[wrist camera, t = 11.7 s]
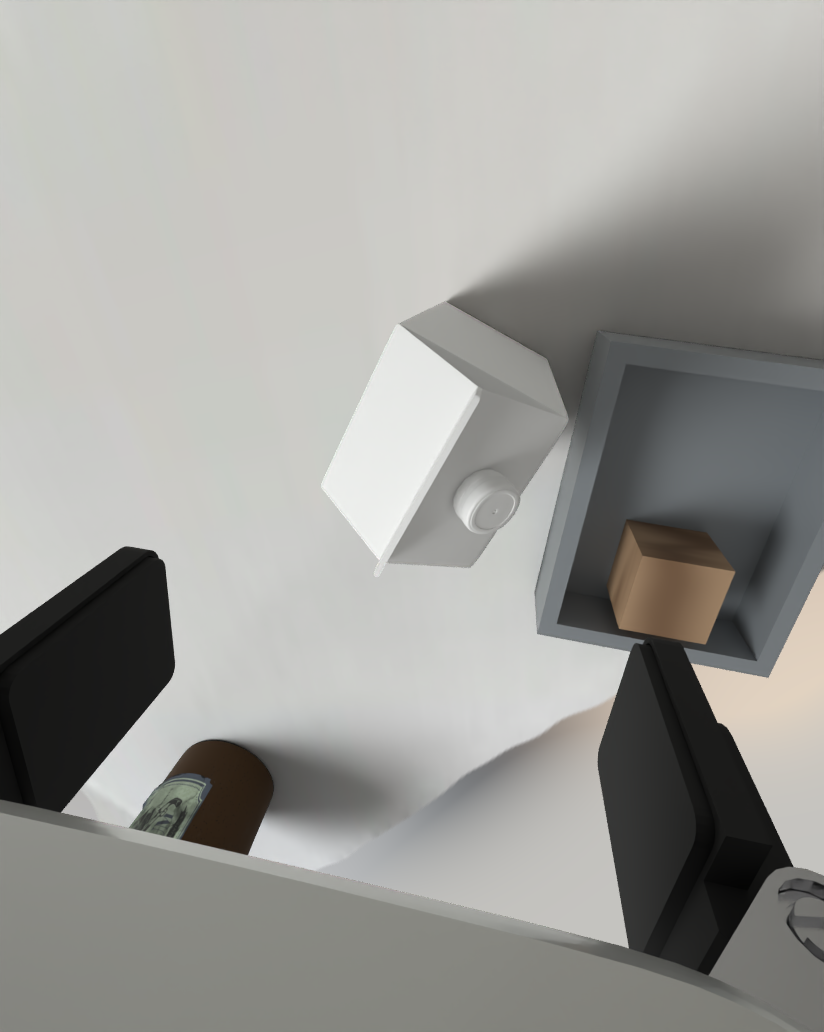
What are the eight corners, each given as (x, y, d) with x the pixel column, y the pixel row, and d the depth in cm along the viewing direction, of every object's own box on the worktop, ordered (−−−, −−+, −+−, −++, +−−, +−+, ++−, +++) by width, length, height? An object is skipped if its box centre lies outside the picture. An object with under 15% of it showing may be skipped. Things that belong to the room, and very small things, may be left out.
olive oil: (300, 806, 53) (144, 1198, 31) (212, 822, 57) (13, 1188, 34) (244, 723, 50) (25, 1095, 28) (155, 745, 53) (-107, 1095, 31)
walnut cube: (707, 532, 35) (735, 571, 31) (682, 599, 37) (705, 644, 33) (626, 519, 36) (642, 555, 31) (606, 585, 38) (618, 628, 33)
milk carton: (392, 404, 36) (282, 527, 19) (444, 299, 33) (369, 334, 16) (488, 457, 36) (465, 624, 19) (548, 358, 33) (584, 454, 16)
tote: (854, 364, 31) (912, 381, 26) (738, 629, 38) (768, 677, 34) (597, 330, 32) (611, 340, 28) (534, 592, 40) (537, 633, 35)
